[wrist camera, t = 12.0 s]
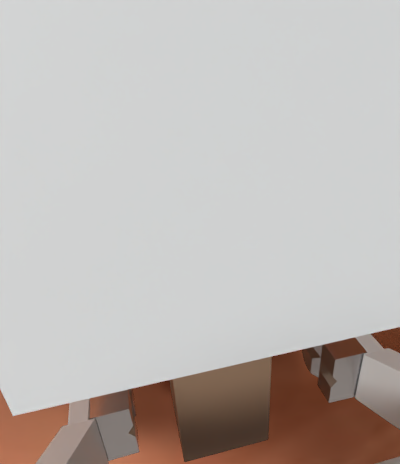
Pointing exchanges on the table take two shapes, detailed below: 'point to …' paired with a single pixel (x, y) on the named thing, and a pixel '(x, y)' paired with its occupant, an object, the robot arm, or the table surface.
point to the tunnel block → (192, 187)
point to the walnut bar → (222, 408)
